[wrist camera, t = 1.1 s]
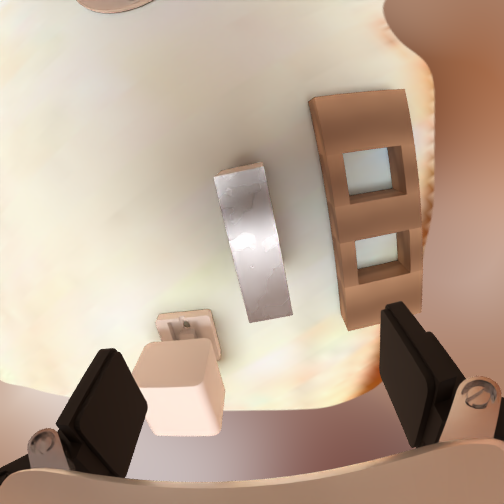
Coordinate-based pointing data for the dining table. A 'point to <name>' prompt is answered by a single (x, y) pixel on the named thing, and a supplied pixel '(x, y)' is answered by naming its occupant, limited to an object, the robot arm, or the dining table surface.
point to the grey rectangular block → (254, 241)
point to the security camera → (182, 376)
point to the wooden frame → (371, 201)
